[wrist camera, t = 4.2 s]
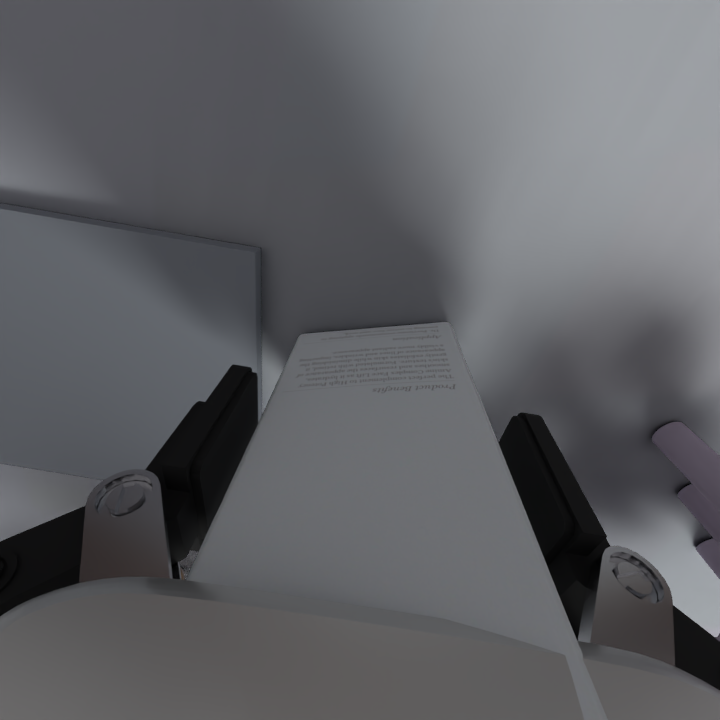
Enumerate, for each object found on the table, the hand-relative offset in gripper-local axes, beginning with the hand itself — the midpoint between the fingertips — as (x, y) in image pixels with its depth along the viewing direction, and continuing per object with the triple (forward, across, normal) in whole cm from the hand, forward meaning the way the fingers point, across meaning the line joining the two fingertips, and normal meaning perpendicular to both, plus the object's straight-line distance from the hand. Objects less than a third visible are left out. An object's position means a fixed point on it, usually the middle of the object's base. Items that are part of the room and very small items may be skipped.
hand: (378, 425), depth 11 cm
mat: (+4, +13, +3) cm, 14 cm away
